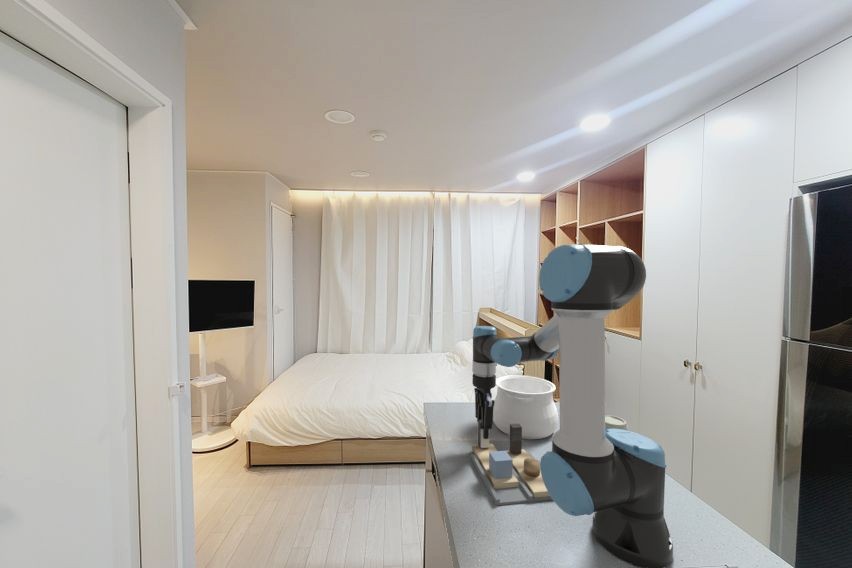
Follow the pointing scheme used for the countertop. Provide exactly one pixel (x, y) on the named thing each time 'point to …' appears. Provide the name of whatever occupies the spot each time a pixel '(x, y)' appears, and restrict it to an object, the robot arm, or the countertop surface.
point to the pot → (525, 406)
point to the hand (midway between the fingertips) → (483, 444)
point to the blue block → (500, 464)
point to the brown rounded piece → (531, 467)
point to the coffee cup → (615, 423)
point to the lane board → (508, 494)
